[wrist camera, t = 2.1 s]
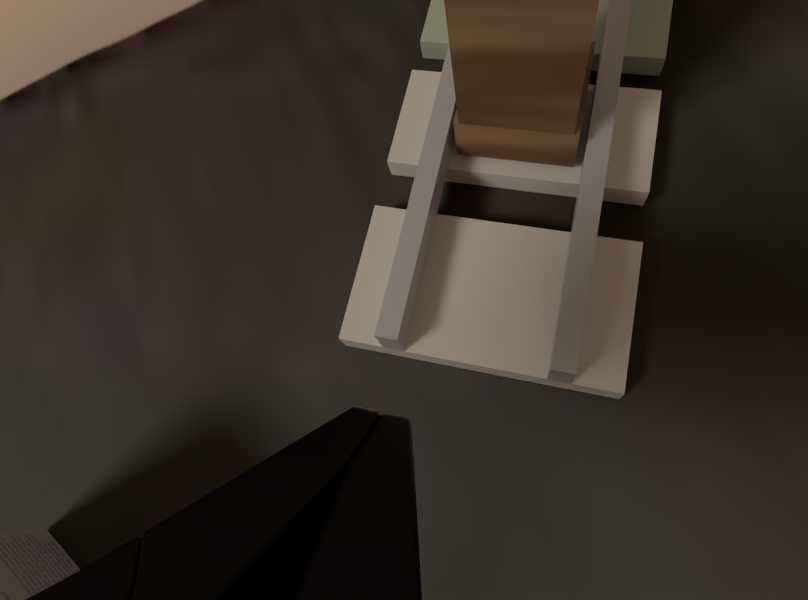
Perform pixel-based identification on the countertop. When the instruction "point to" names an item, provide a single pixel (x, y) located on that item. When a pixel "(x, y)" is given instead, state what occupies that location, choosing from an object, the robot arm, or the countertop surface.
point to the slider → (520, 76)
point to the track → (516, 229)
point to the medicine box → (31, 563)
